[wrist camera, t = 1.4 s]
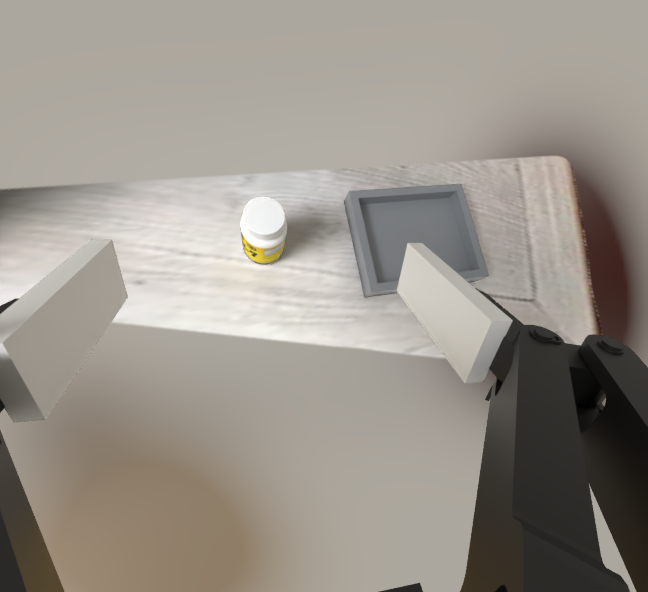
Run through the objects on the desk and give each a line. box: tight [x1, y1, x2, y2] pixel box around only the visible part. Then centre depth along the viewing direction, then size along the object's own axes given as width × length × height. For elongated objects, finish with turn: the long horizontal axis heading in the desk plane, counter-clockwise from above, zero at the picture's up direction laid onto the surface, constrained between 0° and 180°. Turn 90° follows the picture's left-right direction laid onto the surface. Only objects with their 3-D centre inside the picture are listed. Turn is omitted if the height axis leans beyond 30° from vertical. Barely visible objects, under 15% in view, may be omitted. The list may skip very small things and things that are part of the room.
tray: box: [344, 184, 489, 297], centre depth 40 cm, size 16×13×2 cm
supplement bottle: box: [240, 196, 287, 265], centre depth 34 cm, size 5×5×8 cm
